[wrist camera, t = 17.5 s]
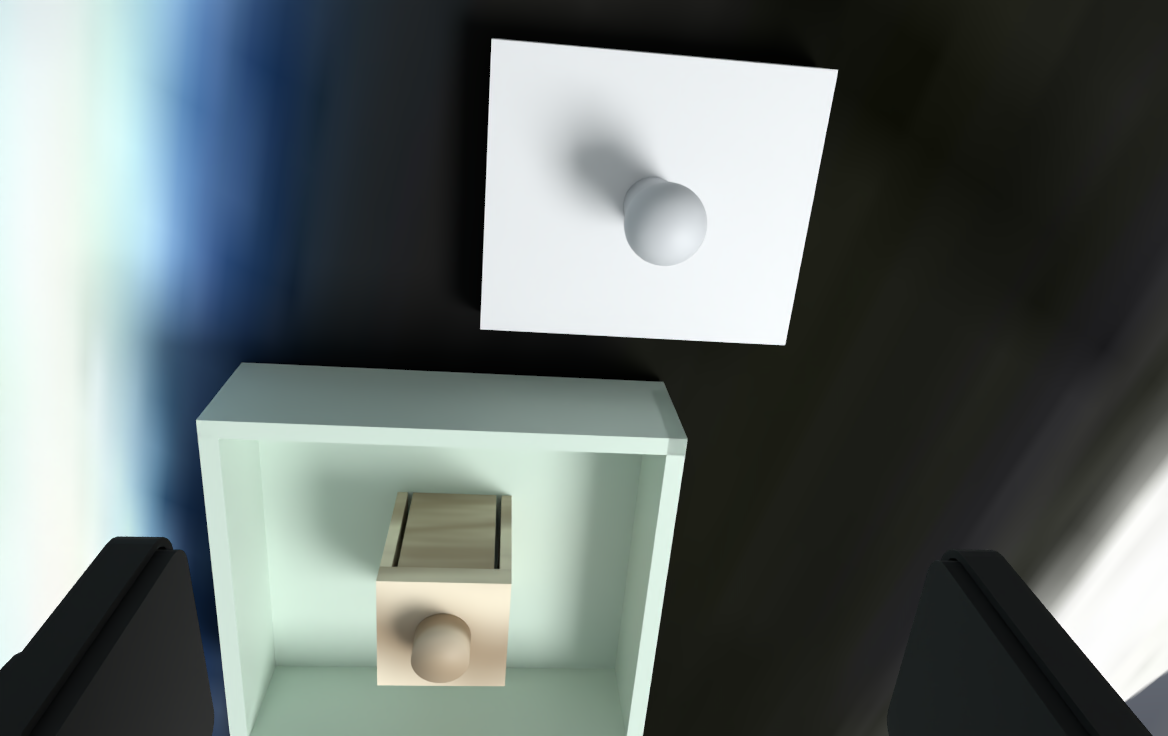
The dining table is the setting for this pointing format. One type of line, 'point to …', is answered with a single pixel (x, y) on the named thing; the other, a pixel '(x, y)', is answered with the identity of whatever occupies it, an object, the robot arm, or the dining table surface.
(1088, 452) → the dining table surface
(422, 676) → the drawer
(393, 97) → the dining table surface
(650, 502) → the bin
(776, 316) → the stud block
